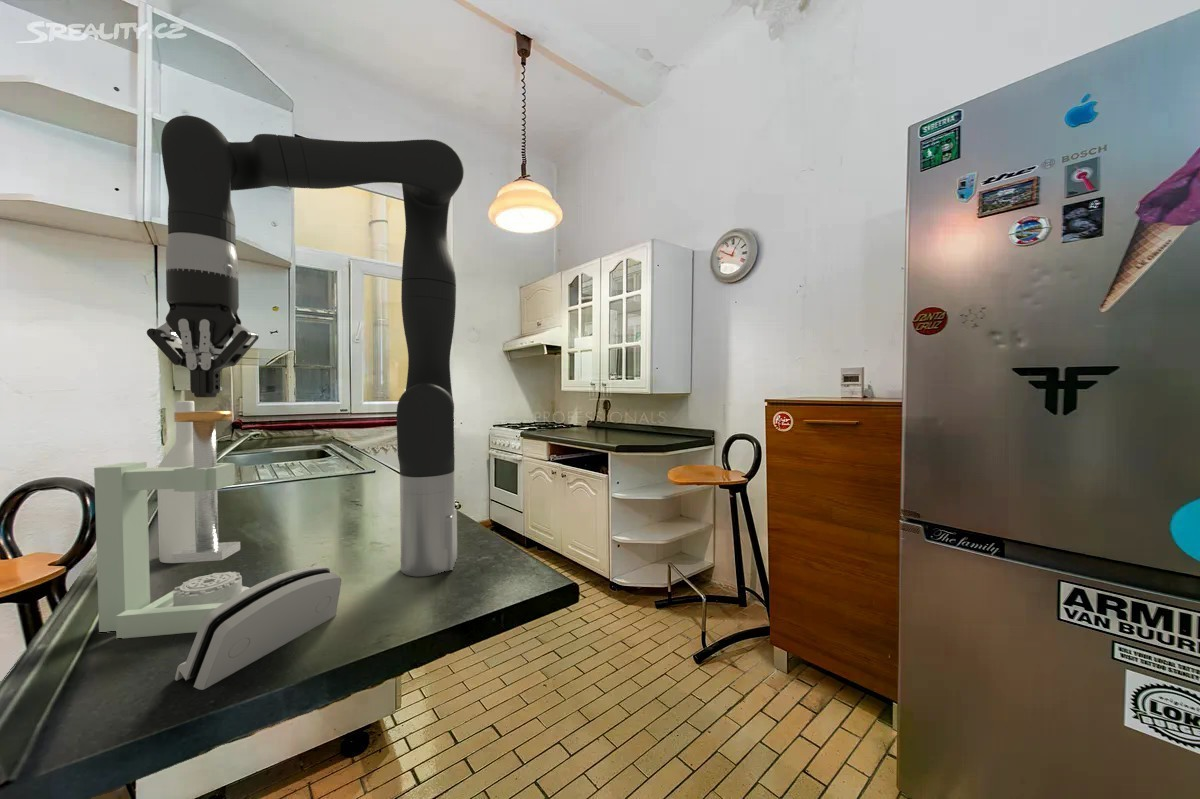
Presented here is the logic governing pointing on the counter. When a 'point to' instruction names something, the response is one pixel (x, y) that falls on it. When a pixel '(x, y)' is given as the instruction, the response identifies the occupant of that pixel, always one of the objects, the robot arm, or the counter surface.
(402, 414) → the robot arm
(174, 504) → the bottle
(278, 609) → the grey curved housing
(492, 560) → the counter surface
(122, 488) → the frame
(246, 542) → the counter surface
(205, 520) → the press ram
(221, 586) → the mechanical component
